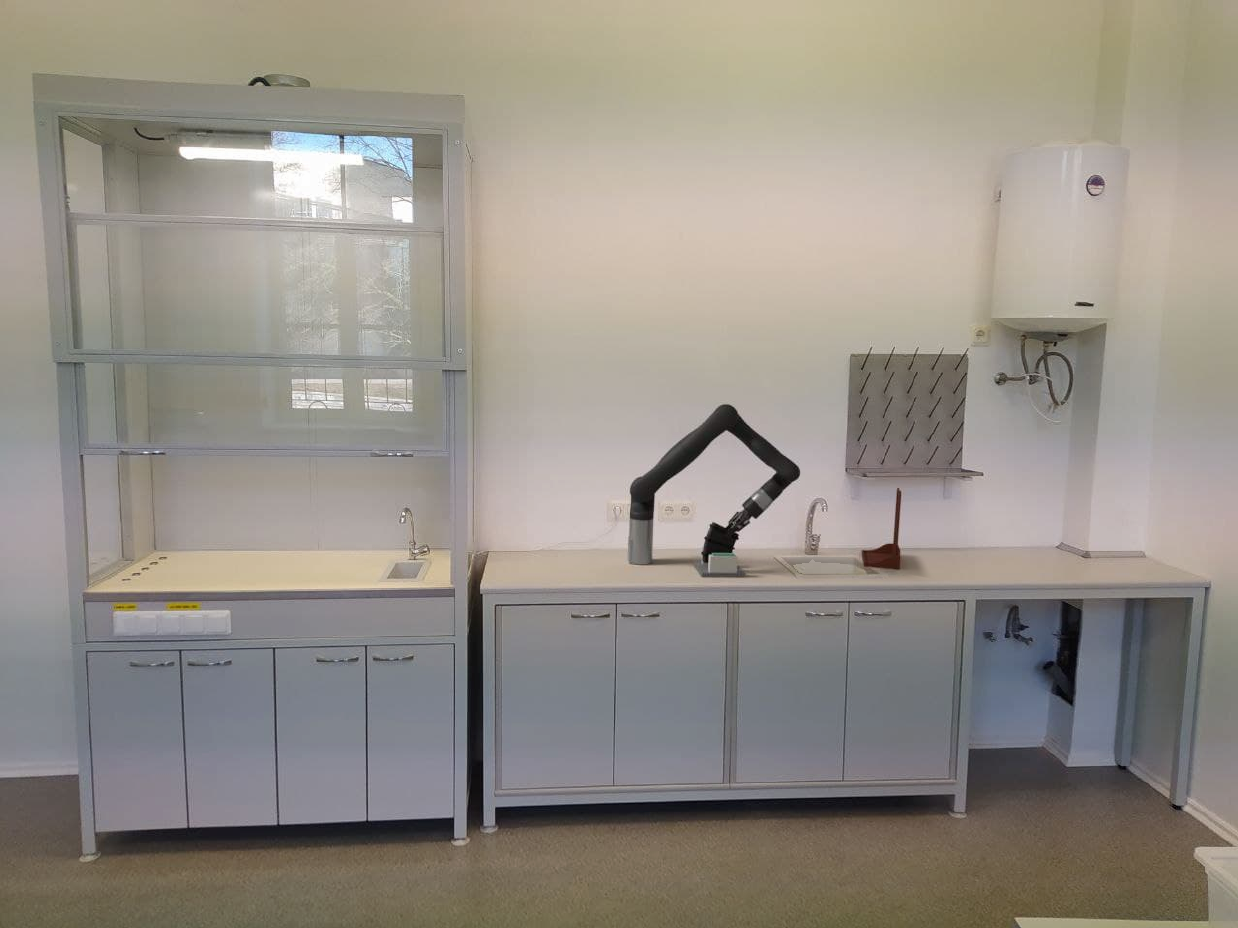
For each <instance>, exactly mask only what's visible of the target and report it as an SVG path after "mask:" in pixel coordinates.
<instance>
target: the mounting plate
mask: <svg viewBox="0 0 1238 928" xmlns="http://www.w3.org/2000/svg"><path fill="white" fill-rule="evenodd" d="M703 547H704V546H702V547H701V552H703ZM702 557H703V555H702V554H701V558H702ZM738 559H739V558H738V556H737V555H736V554H735V553H734V552H732V553H712V555H709V562H708V563H704V562H703V561H702V560H700V561H693V565H692V566H693V567H694V569H695V570H696V571H697V573H698V574H699V576H700V577H701V578H746V572H744V571H743V569H742V568H741V567H740V566H739V565H738Z"/></svg>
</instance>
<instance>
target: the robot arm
mask: <svg viewBox="0 0 1238 928" xmlns="http://www.w3.org/2000/svg"><path fill="white" fill-rule="evenodd" d="M726 431H727V432H728V433H730V434H732V435H733V436H734V437H735V438H737V439H738V440H739V441H741V443H742V444H743V445H745V446H746V447H747V448H748V449H749V451H751V452H752V454H754V455H755V456H756V458H758V459H759V460H760V461H761V462H763V463H764V464H765V465H766V466H767V467H769V468H771V469H772V470H774V471H775V473H774V474H773V475H772V477H771V478H770V479H768V480H767V481H765V482H764V483H763V485H761V486H760V487H759V489H757V490H755V491H754V492H753V493H752V494H751V495H750V496H749V497H748V498H747V499H746V500H745V501H744V502H743V503H742V505H741V506H742V508H743V509H742V510H741V511H736V512H735V514H734V515H733V516H732V517H731V518H730V519H729V520H728V521H727V523H728V524H727V526H725V528H727V529H729V530H728V531H727V532H726V533H725V534H724V536H725V537H726V538H730V537H731V536H732V535H733V534H734V533H740V531H742V530H743V529H744V528H745V527H747V526H748V525H749V524H751V521H750V520H751V518H754V519H755V520H757V519H758V518H759V517H760V516H762V514H764V512H765V511H766V510H768V509H769V507H770V506H772V504H773V503H774V501H776V500H777V499H778V498H779V497H780V496H781V495H782V494H783V492H784V491H785V490H786V489H787V488H788V487H789V486H790V485H792V483H793V482H795V481H797V480H798V479H799V477H800V475H801V469H800V467H799V466H798V464H796V463H795V462H794V461H793V460H791V459H790V458H789V457H787V456H786V455H784V454H783V453H782V452H780V450H779V449H778V448H777V447H775V446H774V445H773V444H772V443H771V442H769V440H767V439H766V438H765V437H763V436H762V435H761V434H760V433H758V432H757V431H756V430H754V429H753V427H751V426H750V425H749V424H748V423H747V422H746V421H745V420H744V419H743V418H742V416H741V415H740V414H739V412H738V410H737V409H736V407H734V406H733V405H731V404H729V403H728V404H727V403H726V404H725V403H724V404H721V405H719V406H718V407H717V408H715V409H714V411H713V412H712V413H711V414H710V415H709V416H708V417H707V418H706V420H705V421H703V422H702V423H701V424H700V425H699V426H697V428H695V429H694V430H692V431H691V432H689V433H688V434H687V435H685V436H683V438H681V439H680V440H679V441H678V442H676V443H675V444H674V445H672V447H671V448H670V449H669V450H668V451H667V452H666V453H665V454H664V455H663V456H662V458H660V459H659V460H658V463H656V464H655V466H653V467H652V468H651V469H650V470H649V471H647V472H645V474H643V475H642V476H638V477H636V478H635V479H634V480H633V481H632V483H631V484H630V487H629V494H630V507H629V508H630V509H629V532H628V533H629V534H628V538H627V539H628V540H627V542H628V543H627V562H628V564H629V565H630V564H632V565H643V566H645V565H650V564H653V548H654V547H653V546H654V545H653V544H654V543H653V542H654V513H655V496H656V493H657V492H658V491H659V490H660V488H662V487H663V486H664V485H665V483H667V482H668V481H669V480H671V479H673V478H674V477H675V476H677V475H678V474H680V473H681V472H683V471H684V470H685V469H686V468H687V467H689V465H691V464H692V463H693V462H695V460H697V458H699V456H700V455H702V453H703V452H704V451H705V450H706V449H707V448H708V446H709V445H710V444H711V443H712V442H713V441H714V440H715V439H716V438H718V437H720V435H722V434H723V433H725V432H726Z"/></svg>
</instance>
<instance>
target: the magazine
mask: <svg viewBox="0 0 1238 928" xmlns="http://www.w3.org/2000/svg"><path fill="white" fill-rule="evenodd" d="M728 530H729V529H727V528H726V526H725V527H724V526H723V525H720V524H718V523H716V522H714V521H712V522H711V523H710V524H709V528H708V531H707V533H706V536H704V537H703V538H704V544H703V546H702V547H703V552H702V551H701V554H700V555H701V561H703V562H704V563H708V562H709V555H712V553H734V550H735V549H736V547H735V544H736V542H737V541H738V540H739V536H740V534H738V532H735V533H734V534H733V535H732V536H731V537H730V538H726V537H725V536H724V534H725V533H726V532H727V531H728ZM702 555H703V557H702Z"/></svg>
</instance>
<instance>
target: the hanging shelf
mask: <svg viewBox="0 0 1238 928" xmlns="http://www.w3.org/2000/svg"><path fill="white" fill-rule="evenodd" d="M895 498H896V499H895V509H894V510H895V511H894V513H895V514H894V525H893V527H894V528H893V539H892V540H893V541H892V543H891V542H890V543H885V544H883V545H881V546H880V547H878V548H875V549H869V550H866V549H861V558H862V562H863V567H866V568H877V569H889V570H900V568H901V549H900V547H899V536H900V535H899V532H900V517H901V507H902V506H901V505H902V490H900V487H897V488H896V497H895Z"/></svg>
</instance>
